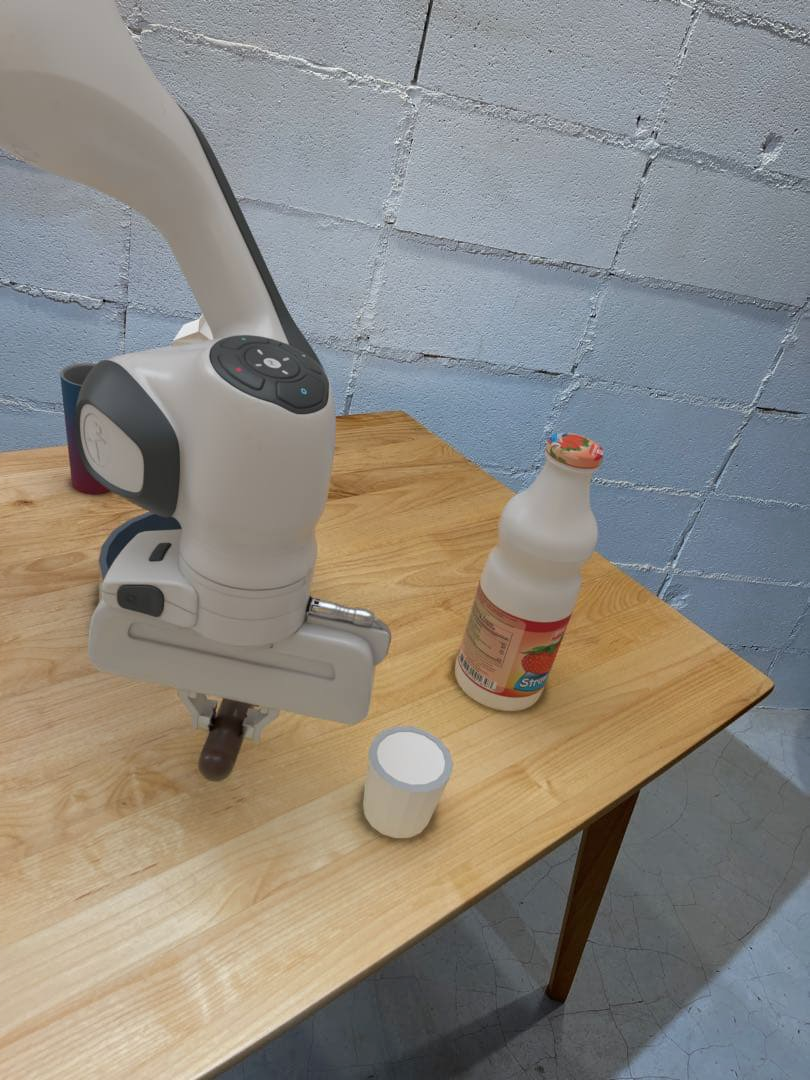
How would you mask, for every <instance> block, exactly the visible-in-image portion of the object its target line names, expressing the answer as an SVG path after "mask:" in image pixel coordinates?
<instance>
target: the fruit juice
mask: <svg viewBox="0 0 810 1080" xmlns="http://www.w3.org/2000/svg"><path fill="white" fill-rule="evenodd" d="M544 457H545V461H544V464H543V466H542V468H541V470H540V472H539V473H538V475H536V477H535V479H534V480H533V481H532V482H531V484H530V485H529V486H527V487H526V488H524V489H523V490H521V491H519V492H517V494H515V495H513V497H511V498H510V499H508V501H507V503H506V504H505V505H504V507H503V509H502V511H501V514H500V517H499V519H498V525H497V543H496V544H495V546H493V547H492V549H491V550H490V552H489V553H488V556H487V558H486V560H485V563H484V566H483V568H482V571H481V574H480V578H479V582H478V585H477V588H476V592H475V596H474V598H473V602H472V605H471V608H470V612H469V615H468V619H467V623H466V625H465V630H464V633H463V635H462V639H461V642H460V645H459V650H458V653H457V656H456V660H455V664H454V677H455V679H456V682H457V684H458V685H459V687H460V688H461V690H462V691H463V692H464V693H465V694H466V695H467V696H468V697H470V699H472V700H474V701H475V702H477V703H479V704H480V705H483V706H484V707H487V708H490V709H493V710H497V711H502V712H503V711H504V712H517V711H522V710H526V709H529V708H530V707H532V706H534V705H535V704H536V702H537V701H538V700H539V699H540V698H541V695H542V693H543V692H544V690H545V687H546V683H547V682H548V678H549V676H550V673H551V670H552V668H553V665H554V663H555V660H556V658H557V655H558V652H559V650H560V647H561V644H562V641H563V639H564V637H565V633H566V631H567V629H568V625H569V623H570V620H571V617H572V615H573V613H574V610H575V608H576V605H577V603H578V599H579V596H580V593H581V588H582V582H583V577H582V575H583V574H582V570H583V568H584V567H585V566H586V564H588V562H589V561H590V560H591V557H592V556H593V555H594V553H595V550H596V547H597V544H598V539H599V526H598V523H597V519H596V517H595V515H594V512H593V510H592V507H591V484H592V479H593V475H594V474H595V473H596V472H598V470H599V469H600V467H601V465H602V462H603V458H604V450H603V447H602V446H601V445H600V444H599V443H597V442H596V441H594V440H593V439H591V438H589V437H587V436H583V435H580V434H577V433H574V432H564V431H563V432H556V433H553V434H552V435H551V436H550V437H549V438H548V441H547V443H546V445H545V450H544Z"/></svg>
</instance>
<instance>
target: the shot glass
mask: <svg viewBox="0 0 810 1080" xmlns="http://www.w3.org/2000/svg"><path fill="white" fill-rule="evenodd" d="M453 766H454V761H453V758H452V755H451V751H450V749H449V748H448V747H447V746H446V745H445V744H444V742H443V741H442V740H441V738H439V737H437V736H436V735H434V734H432V733H431V732H430V731H428V730H425V729H422V728H419V727H415V726H412V725H396V726H393V727H390V728H387V729H384V730H382V731H380V732H379V733H378V734H377V735H376V736H375V737H374V738H373V739H372V741H371V744H370V747H369V750H368V755H367V763H366V773H365V782H364V784H365V785H364V793H363V801H362V807H363V813H364V817H365V819H366V820H367V822H368V823H369V825H370V826H371V827H372V828H373V829H375V830H376V831H377V832H379V833H380V834H382V835H384V836H387V837H390V838H394V839H410V838H412V837H415V836H417V835H420V834H421V833H422V832H423V830H424V829H426V827H427V826H428V825H429V822H430V821H431V819H432V816H433V814H434V812H435V810H436V808H437V806H438V803H439V801H441V800H440V799H441V798H442V795H443V793H444V791H445V789H446V787H447V785H448V783H449V780H450V779H451V776H452V771H453Z"/></svg>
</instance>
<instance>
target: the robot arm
mask: <svg viewBox="0 0 810 1080" xmlns="http://www.w3.org/2000/svg"><path fill="white" fill-rule="evenodd" d="M0 148H1V149H3V150H5V151H6V152H7V153H9V154H10V155H12V156H13V157H15V158H17V159H18V160H20V161H22V162H24V163H25V164H28V165H29V166H32V167H34V168H36V169H39V170H40V171H43V172H46V173H48V174H51V175H55V176H57V177H60V178H63V179H67V180H69V181H72V182H76V183H78V184H80V185H83V186H85V187H88V188H90V189H93V190H96V191H98V192H100V193H102V194H104V195H107V196H109V197H111V198H113V199H114V200H116V201H118V202H120V203H122V204H124V205H125V206H128V207H129V208H131V209H133V210H134V211H136V212H137V213H138V214H140V215H141V216H143V217H144V218H145V219H146V220H147V221H149V222H150V223H151V225H153V226H154V227H155V228H156V230H157V231H158V232H159V233H160V234H161V236H162V237H163V238H164V240H165V241H166V243H167V244H168V246H169V248H170V250H171V252H172V254H173V256H174V258H175V260H176V262H177V264H178V266H179V268H180V271H181V272H182V274H183V276H184V278H185V280H186V282H187V284H188V286H189V289H190V290H191V293H192V295H193V297H194V299H195V301H196V303H197V305H198V307H199V309H200V312H201V313H203V315H204V317H205V319H206V321H207V323H208V325H209V327H210V330H211V332H212V335H213V340H208V341H203V342H197V343H192V344H186V345H181V346H173V345H166V346H165V345H164V346H161V347H155V348H148V349H143V350H138V351H133V352H128V353H123V354H119V355H116V356H113V357H111V358H108V359H104V360H100V361H98V362H96V365H95V366H94V367H93V368H92V369H91V371H90V372H89V373H88V375H87V376H86V378H85V380H84V382H83V384H82V387H81V389H80V392H79V396H78V401H77V406H76V414H75V430H76V438H77V444H78V448H79V452H80V456H81V458H82V461H83V463H84V465H85V467H86V469H87V471H88V472H89V473H90V475H91V476H92V477H93V478H94V479H96V480H97V481H98V482H99V483H100V484H102V485H103V486H104V487H106V488H107V489H109V490H111V491H110V492H112V493H115V495H117V496H118V497H121V498H123V499H125V500H126V501H128V502H130V503H131V504H133V505H135V506H137V507H139V508H141V509H143V510H144V511H147V512H152V513H154V514H156V515H158V516H161V517H171V516H172V517H174V518H175V519H176V520H177V521H178V522H179V523H180V525H181V528H182V529H178V530H161V531H145V532H141V533H138V534H137V535H136V536H135V537H134V538H133V539H132V540H131V541H130V542H129V543H128V544H127V545H126V546H125V548H124V549H123V550H122V551H121V552H120V554H119V555H118V556H117V558H116V559H115V561H114V562H113V564H112V565H111V567H110V569H109V571H108V573H107V574H106V576H105V579H104V581H103V583H102V587H101V594H102V600H101V601H100V603H99V602H98V604H97V605H96V608H94V611H93V613H92V615H91V619H90V623H89V630H88V637H87V638H88V639H87V658H88V660H89V662H90V663H91V664H92V665H93V667H95V669H96V670H97V671H99V672H100V673H104V674H106V675H112V676H117V677H122V678H126V679H127V678H128V679H131V680H136V681H141V682H145V683H150V684H156V685H160V686H164V687H170V688H174V689H177V697H178V698H179V700H180V702H182V704H183V706H184V707H185V709H186V710H187V711H188V712H189V714H191V718H190V729H193V730H198V731H204V732H208V733H209V732H210V731H211V728H212V724H213V723H214V721H215V718H216V714H217V708H218V703H219V702H218V701H217V700H213V699H209V698H208V697H207V696H211V697H217V698H221V699H223V698H225V699H230V700H234V701H239V702H244V703H249V704H253V705H258V706H259V709H257V708H254V709H251V708H248V711H247V713H246V718H245V719H244V722H243V725H242V734H241V739H243V740H246V741H250V742H255V743H261V740H262V738H263V735H264V730H265V728H266V727H268V726H269V725H270V724H271V723H273V722H274V721H276V719H278V718H279V716H280V712H286V713H292V714H296V715H301V716H306V717H309V718H310V717H311V718H314V719H319V720H323V721H329V722H334V723H339V724H343V725H348V726H355V725H358V724H359V723H361V722H363V721H364V720H366V719H367V718H368V716H369V713H370V708H371V707H370V706H371V702H372V697H373V691H374V685H375V677H376V672H377V671H376V670H377V666H378V665H380V664H381V663H382V662H383V661H385V659H386V658H387V656H388V654H389V651H390V646H391V642H392V632H391V628H389V626H388V624H387V623H386V622H384V621H383V620H382V619H380V618H378V617H376V616H375V612H374V611H372V610H369V609H367V608H362V607H349V606H346V605H343V604H340V603H337V602H333V601H330V600H324V599H321V598H317V597H312V589H313V588H312V587H313V582H314V577H315V572H316V571H315V570H316V565H317V559H318V542H317V536H316V530H317V526H318V523H319V521H320V519H321V517H322V516H323V514H324V513H325V509H326V506H327V504H328V497H329V492H330V486H331V481H332V474H333V468H334V467H333V466H334V458H335V449H336V434H337V416H336V406H335V398H334V397H335V396H334V392H333V388H332V384H331V381H330V378H329V376H328V374H327V373H326V370H325V368H324V366H323V364H322V362H321V360H320V358H319V357H318V355H317V353H316V351H315V350H314V348H313V347H312V345H311V344H310V343H309V341H308V340H307V338H306V336H305V335H304V334H303V332H302V331H301V330H300V327H299V326H298V325H297V323H296V322H295V320H294V319H293V317H292V315H291V313H290V312H289V310H288V308H287V306H286V304H285V302H284V300H283V297H282V295H281V293H280V291H279V289H278V287H277V285H276V283H275V280H274V279H273V276H272V273H271V272H270V270H269V268H268V265H267V263H266V262H265V261H266V260H265V259H264V257H263V255H262V252H261V250H260V247H259V246H258V243H257V241H256V239H255V237H254V235H253V232H252V230H251V228H250V226H249V224H248V221H247V220H246V217H245V215H244V212H243V210H242V208H241V206H240V204H239V202H238V200H237V198H236V196H235V193H234V191H233V189H232V187H231V185H230V183H229V181H228V179H227V177H226V174H225V172H224V170H223V168H222V166H221V164H220V162H219V160H218V158H217V156H216V155H215V152H214V150H213V148H212V146H211V145H210V143H209V141H208V139H207V138H206V135H205V134H204V133H203V130H202V129H201V127H200V126H199V125H198V123H197V122H196V120H195V119H194V118H193V117H192V116H191V115H190V114H189V113H188V112H187V111H186V110H185V109H184V108H183V107H182V105H180V104H179V103H178V102H176V101H175V100H174V98H173V97H172V96H171V95H170V93H169V92H168V91H167V90H166V88H165V87H164V86H163V84H162V83H161V82H160V80H159V79H158V78H157V76H156V75H155V73H154V72H153V70H152V69H151V67H150V65H149V64H148V62H147V61H146V60H145V58H144V56H143V54H142V53H141V51H140V50H139V48H138V46H137V44H136V42H135V40H134V39H133V38H132V35H131V34H130V32H129V30H128V28H127V26H126V24H125V21H124V20H123V18H122V15H121V13H120V10H119V8H118V6H117V3H116V1H115V0H0Z"/></svg>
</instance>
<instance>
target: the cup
mask: <svg viewBox="0 0 810 1080" xmlns="http://www.w3.org/2000/svg"><path fill="white" fill-rule="evenodd" d="M96 364H97V362H96V363H95V362H81V363H80V362H79V363H73V364H70V365H67V366H65V367H63V368H62V369H61V370H60V373H59V377H60V387H61V395H62V405H63V414H64V425H65V432H66V433H65V434H66V441H67V442H66V443H67V453H68V460H69V469H70V470H69V471H70V481H71V486H72V488H73V489H74V490H76V491H77V492H79V493H82V494H86V495H94V496H95V495H103V494H107V493H110V492H112V491H111V490H109V489H107V488H106V487H104V486H103V485H102V484H100V483H99V482H98V481H97V480H96V479H94V478H93V477H92V476H91V475H90V473H89V472H88V471H87V469H86V467H85V465H84V463H83V461H82V458H81V456H80V452H79V448H78V444H77V438H76V430H75V414H76V406H77V401H78V396H79V392H80V389H81V387H82V384H83V382H84V380H85V378H86V376H87V375H88V373H89V372H90V371H91V369H92V368H93V367H94V366H95V365H96Z"/></svg>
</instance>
